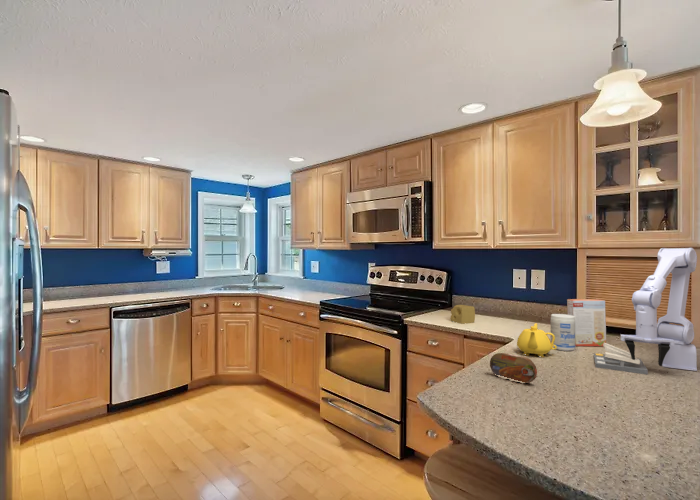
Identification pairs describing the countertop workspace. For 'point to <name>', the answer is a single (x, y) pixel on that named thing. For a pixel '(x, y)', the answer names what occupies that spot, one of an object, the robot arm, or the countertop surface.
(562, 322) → the supplement tub
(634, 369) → the switch base
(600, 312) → the cracker box
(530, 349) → the teapot
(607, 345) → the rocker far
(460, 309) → the cheese
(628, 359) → the rocker near
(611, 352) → the rocker middle
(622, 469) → the countertop surface
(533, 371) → the tin
